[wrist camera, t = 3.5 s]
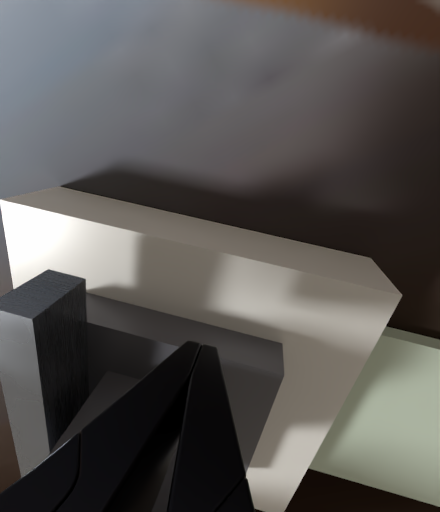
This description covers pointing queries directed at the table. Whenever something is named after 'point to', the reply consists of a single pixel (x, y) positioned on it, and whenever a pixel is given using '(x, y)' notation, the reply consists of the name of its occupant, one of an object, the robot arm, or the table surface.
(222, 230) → the socket block
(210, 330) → the plug
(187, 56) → the table surface
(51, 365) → the bar
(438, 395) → the pad
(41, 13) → the table surface
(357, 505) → the table surface
